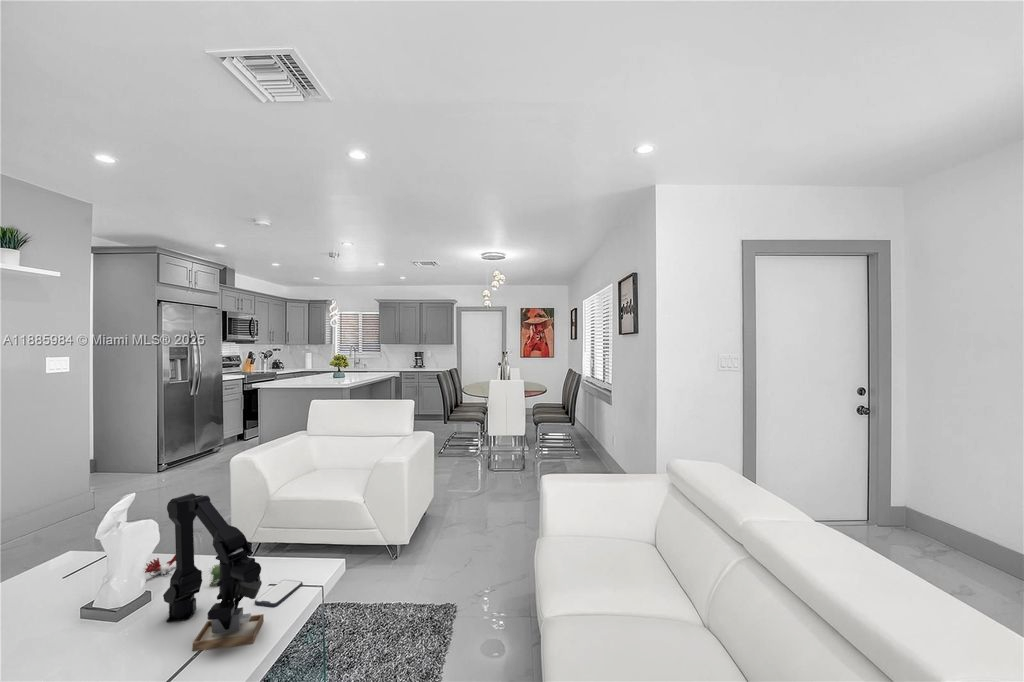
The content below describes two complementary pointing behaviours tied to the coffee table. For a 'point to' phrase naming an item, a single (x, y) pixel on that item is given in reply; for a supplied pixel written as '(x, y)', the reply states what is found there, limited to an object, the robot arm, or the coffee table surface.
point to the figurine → (159, 567)
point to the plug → (235, 624)
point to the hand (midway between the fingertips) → (229, 625)
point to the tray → (228, 635)
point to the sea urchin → (214, 574)
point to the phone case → (278, 593)
